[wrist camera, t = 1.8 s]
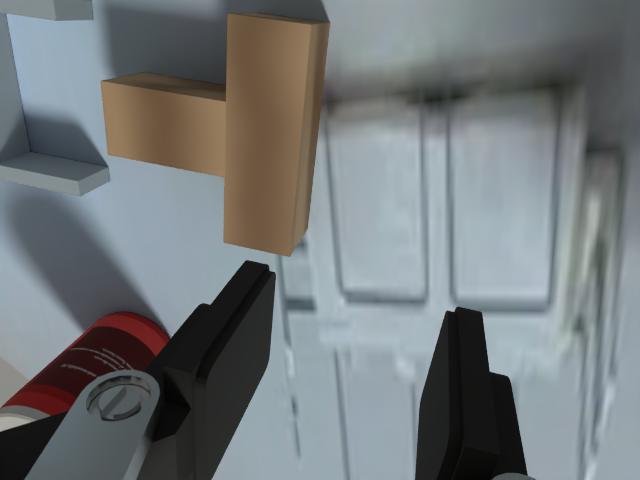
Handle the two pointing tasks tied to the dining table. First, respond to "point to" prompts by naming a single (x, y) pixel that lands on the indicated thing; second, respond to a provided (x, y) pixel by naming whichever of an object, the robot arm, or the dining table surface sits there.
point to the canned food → (85, 366)
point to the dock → (8, 119)
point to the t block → (236, 125)
